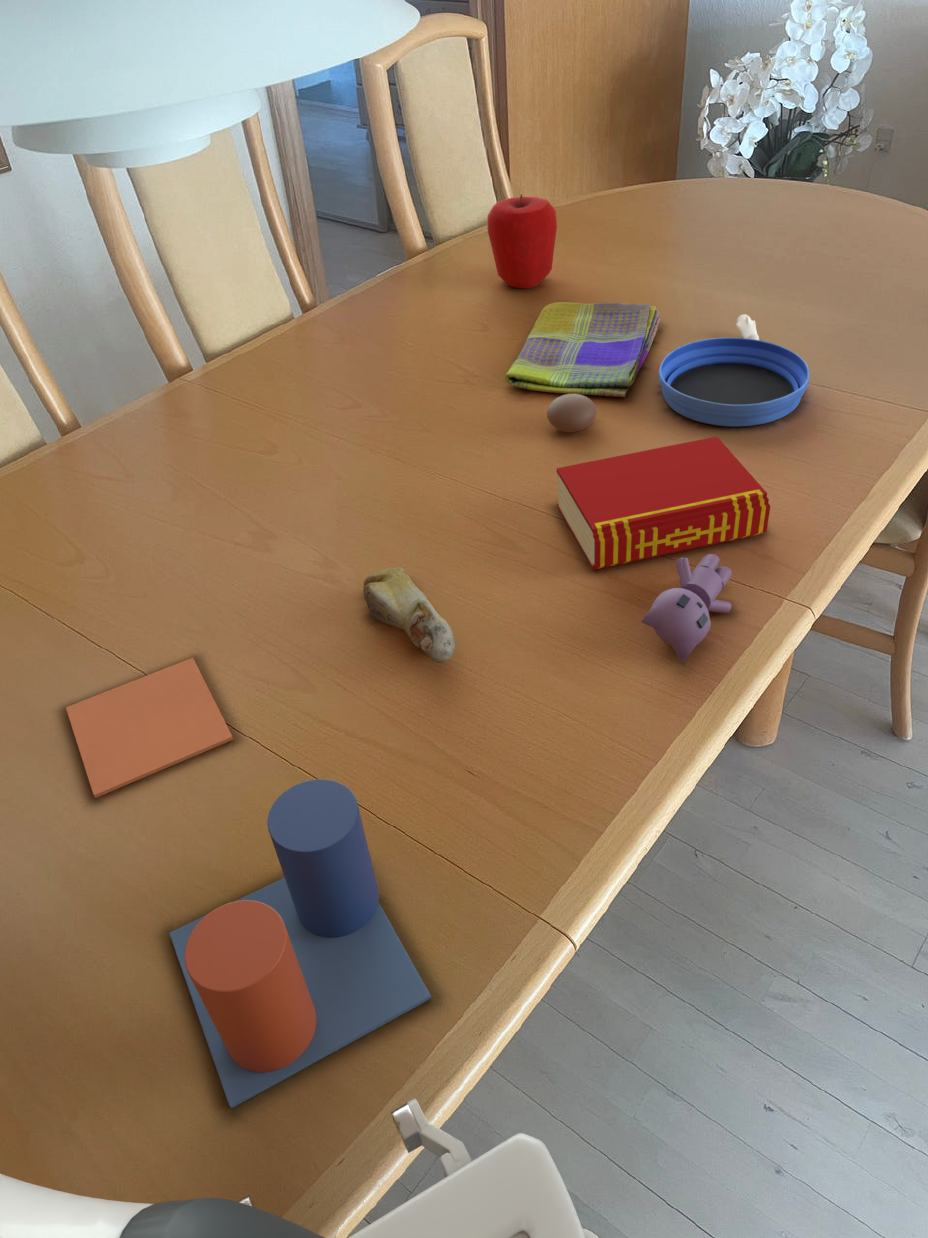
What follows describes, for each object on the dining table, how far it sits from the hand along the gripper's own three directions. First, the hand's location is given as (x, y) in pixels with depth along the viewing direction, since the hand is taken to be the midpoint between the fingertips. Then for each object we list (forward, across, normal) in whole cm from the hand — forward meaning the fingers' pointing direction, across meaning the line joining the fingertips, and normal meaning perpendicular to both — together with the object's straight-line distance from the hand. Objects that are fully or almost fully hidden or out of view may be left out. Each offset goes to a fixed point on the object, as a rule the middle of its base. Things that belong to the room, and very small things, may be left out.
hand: (323, 1156), depth 51 cm
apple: (+109, -78, +7) cm, 134 cm away
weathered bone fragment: (+43, -25, +7) cm, 50 cm away
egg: (+66, -58, +7) cm, 88 cm away
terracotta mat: (+45, 0, +7) cm, 45 cm away
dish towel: (+82, -71, +7) cm, 108 cm away
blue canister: (+19, -7, +7) cm, 21 cm away
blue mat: (+16, -3, +7) cm, 17 cm away
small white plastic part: (+71, -90, +8) cm, 115 cm away
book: (+44, -55, +7) cm, 71 cm away
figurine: (+29, -47, +7) cm, 56 cm away
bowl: (+61, -79, +7) cm, 100 cm away
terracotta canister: (+12, 0, +7) cm, 14 cm away
